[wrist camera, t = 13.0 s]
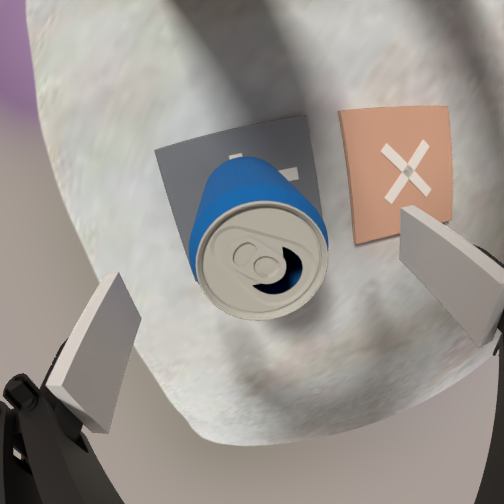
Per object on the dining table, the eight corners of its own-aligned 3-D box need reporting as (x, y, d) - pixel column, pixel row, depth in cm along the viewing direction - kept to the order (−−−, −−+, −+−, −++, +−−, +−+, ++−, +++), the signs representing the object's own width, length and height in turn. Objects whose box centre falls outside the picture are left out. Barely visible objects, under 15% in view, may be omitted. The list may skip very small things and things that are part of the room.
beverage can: (255, 247, 25) (277, 345, 14) (189, 207, 23) (159, 287, 12) (301, 185, 23) (365, 246, 12) (233, 139, 21) (242, 157, 10)
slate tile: (156, 149, 21) (154, 150, 21) (303, 115, 21) (306, 115, 21) (196, 278, 27) (195, 282, 26) (324, 248, 26) (326, 252, 26)
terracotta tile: (338, 111, 21) (341, 110, 21) (444, 106, 21) (448, 106, 20) (353, 241, 26) (356, 244, 26) (448, 218, 26) (452, 220, 26)
